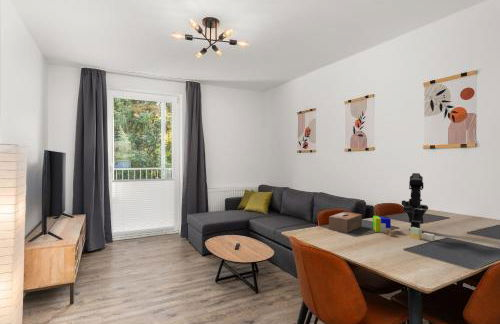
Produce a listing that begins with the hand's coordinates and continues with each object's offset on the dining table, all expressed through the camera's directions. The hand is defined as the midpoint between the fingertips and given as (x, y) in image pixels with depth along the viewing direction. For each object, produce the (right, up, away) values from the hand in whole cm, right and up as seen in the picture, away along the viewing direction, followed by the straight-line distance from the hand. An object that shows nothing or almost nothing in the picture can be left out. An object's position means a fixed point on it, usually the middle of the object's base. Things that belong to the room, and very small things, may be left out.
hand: (415, 220), depth 194 cm
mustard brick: (0, -12, 0) cm, 12 cm away
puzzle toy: (-14, -12, +19) cm, 27 cm away
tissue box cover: (-38, -12, +28) cm, 49 cm away
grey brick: (+8, -12, -2) cm, 14 cm away
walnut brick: (-14, -12, +7) cm, 20 cm away
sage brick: (0, -9, -1) cm, 9 cm away
